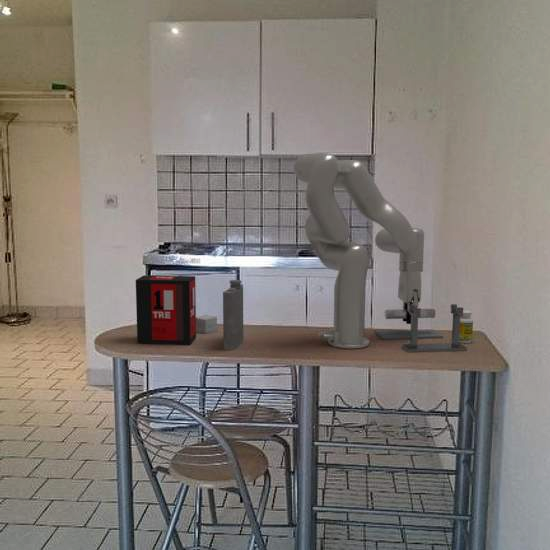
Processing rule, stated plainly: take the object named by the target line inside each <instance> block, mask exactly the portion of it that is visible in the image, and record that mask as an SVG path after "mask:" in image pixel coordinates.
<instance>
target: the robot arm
mask: <svg viewBox="0 0 550 550" xmlns="http://www.w3.org/2000/svg"><path fill="white" fill-rule="evenodd" d="M293 172H294V175H295V176H296V178H297V180H299V181H301V182H302V183H306V184H307V186H306V189H305V190H306V191H305V203H306V206H307V209H308V211H309V213H310V214H309V215H308V216H307V218H306V221H305V224H304V231H305V235H306V238H307V239H308V241H309V243H310V245H311V246H312V248H313V251H314V252H315V254H316V256H317V257H318V259H319V261H320V262H321V263H322V265H323V266H324V267H325V268H328V269H330V270H333V271H338V273H337V276H336V279H335V281H334V282H335V283H334V286H333V327H330V329H329V330H327V331H325V330H320V331H318V333H317V336H318V338H323V339H328V340H327V341H328V344H329V345H330V346H332V347H334V348H339V349H349V350H351V349H353V350H354V349H362V348H365V347H368V346H369V345H370V340H369V339H368V338H366V337H365V327H366V325H365V323H366V322H365V321H366V319H365V318H366V289H367V288H366V286H367V285H366V284H367V278H368V277H367V275H368V270H369V266H370V253H369V251H368V249H367V248H366V247H365V246H364V245H363V244H361V243H359V242H357V241H356V242H355V241H349V237H350V236H351V227H350V223H349V221H348V219H347V218H346V216H345V214H344V211H343V209H342V208H341V206H340V204H339V203H338V201H337V199H336V195H335V189H344V190H345V191H346V193H347V194H348V196H349V197H350V199H351V201H352V202H353V204H354V205H355V208H356V209H357V211H358V212H359V213H360V214H361V215H362V216H364V217H365V218H366V219H368V220H371V221H372V222H375V223H376V224H377V225H379V226H381V227H382V228H383V229H380V230H379V231H378V232H377V233H376V235H375V239H374V242H375V245H376V247H377V248H378V249H379V250H381V251H382V252H386V253H387V252H388V253H392V254H399V259H398V261H399V263H398V264H399V265H398V266H399V269H398V271H399V277H398V290H397V298H398V299H399V300H401V301H402V309H408V312H407V313H406V319H402V321H403V322H405V323H406V325H411V314H409V305H415V308H419V303H420V302H421V299H422V273H423V272H424V254H425V253H424V251H425V250H424V249H425V231H424V230H423V229H422V228H418V227H417V228H416V227H412V226H411V223H410V222H409V220H408V219H407V217H406V216H405V215H404V214H403V213H402V212H401V210H399V209H397V207H395V206H394V205H393V204H392V203H391V202H390V201H388V200H387V199H386V198H385V197H384V195H383V194H382V193H381V190H380V189H379V187H378V186H377V184H376V182H375V181H374V179H373V176H371V174H370V172H369V170H368V169H367V167H366V166H365V164H364V163H363V162H361V161H360V160H356V159H344V160H339V159H337V157H336V156H335V155H333V154H332V153H328V152H315V153H314V152H312V153H304V154H302V155H301V154H300V155H299V156H298V157H297V158H296V160H295V162H294V163H293Z"/></svg>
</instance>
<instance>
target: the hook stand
mask: <svg viewBox="0 0 550 550" xmlns="http://www.w3.org/2000/svg"><path fill="white" fill-rule="evenodd" d="M421 309H422V308H421V307H417V308H415V305H413V304H412V305H409V314H411V324H410V330H411V334H410V340H409V343H408V344H407V343H406V344H405V343H402V345H401V347H402V348H403V350H405V351H406V352H407V353H425V352H428V353H429V352H433V353H434V352H459V351H460V352H461V351H462V352H464V351H466V352H467V351H468V347H466V346H465V345H463V343H460V342H459V331H460V317H463V310H464V307H462V306H461V307H458V304H456V303H455V304H454V303H452V304H450V314H452V330H451V331H452V332H451V342H449V343H448V342H445V343H444V342H443V343H442V342H441V343H439V342H438V343H437V342H436V343H418V338H417V332H418V330H419V329H418V328H419V327H418V326H419V318H418V317H420V314H421Z"/></svg>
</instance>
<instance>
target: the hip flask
mask: <svg viewBox="0 0 550 550" xmlns="http://www.w3.org/2000/svg"><path fill="white" fill-rule="evenodd" d="M229 284H230V286H229V288H228V289H226V290H225V291H223V292H222V316H223V317H222V318H223V319H222V320H223V322H222V324H223V325H222V326H223V327H222V328H223V329H222V333H223V334H222V336H223V339H222V340H223V349H224V350H223V351H225V350H228V351H227V352H231V351H230V350H233V351H235V350H236V349H238V348H239V347H240V346H241V345H242V344H243V342H244V284H242V280H240V279H231V280H229ZM241 343H242V344H241ZM238 346H239V347H238ZM237 347H238V348H237ZM234 349H235V350H234Z"/></svg>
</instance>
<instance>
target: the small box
mask: <svg viewBox="0 0 550 550" xmlns="http://www.w3.org/2000/svg"><path fill="white" fill-rule="evenodd" d="M214 332H218V317H217V316H212V315H208V314H205V315H199V316H196V333H201V334H205V335H206V334H210V333H214Z"/></svg>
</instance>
